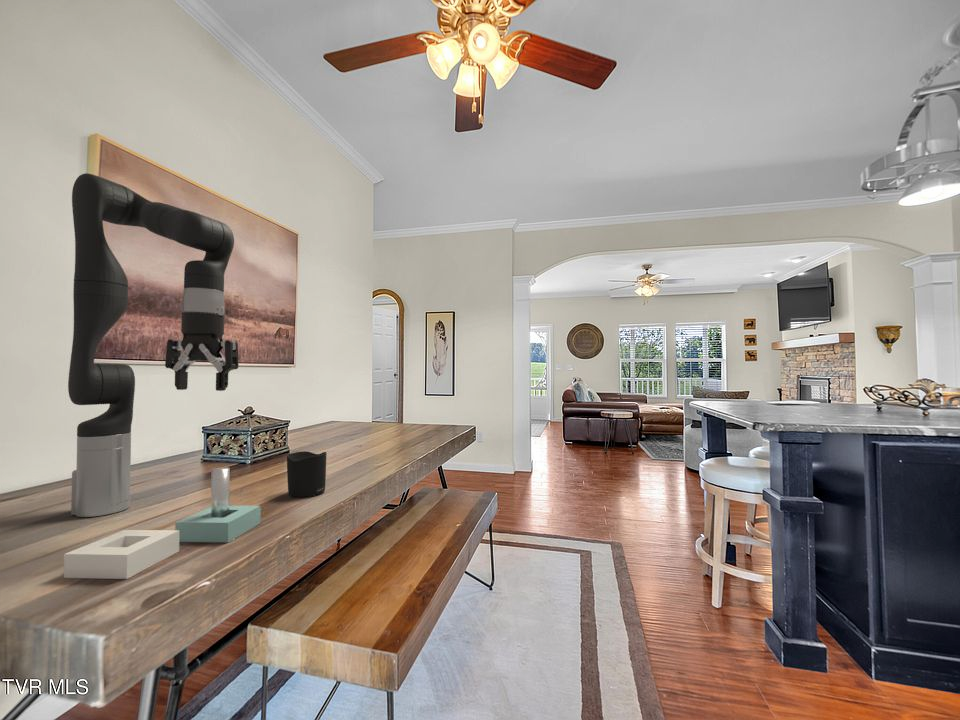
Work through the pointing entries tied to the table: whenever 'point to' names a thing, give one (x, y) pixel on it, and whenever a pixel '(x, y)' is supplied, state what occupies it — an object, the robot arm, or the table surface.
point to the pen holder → (306, 474)
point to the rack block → (218, 525)
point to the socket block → (121, 554)
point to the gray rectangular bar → (220, 492)
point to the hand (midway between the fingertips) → (201, 390)
